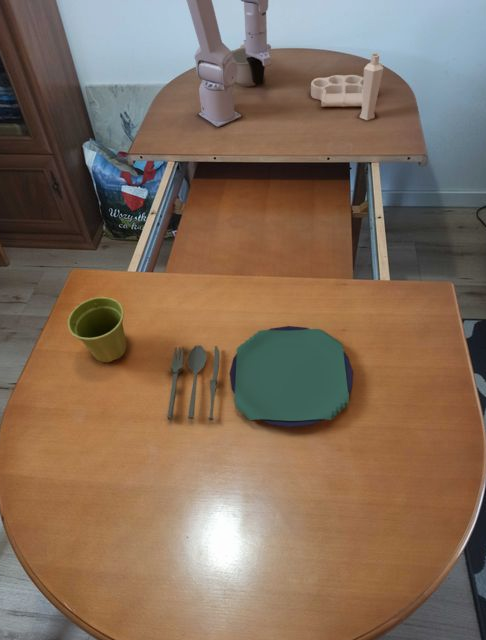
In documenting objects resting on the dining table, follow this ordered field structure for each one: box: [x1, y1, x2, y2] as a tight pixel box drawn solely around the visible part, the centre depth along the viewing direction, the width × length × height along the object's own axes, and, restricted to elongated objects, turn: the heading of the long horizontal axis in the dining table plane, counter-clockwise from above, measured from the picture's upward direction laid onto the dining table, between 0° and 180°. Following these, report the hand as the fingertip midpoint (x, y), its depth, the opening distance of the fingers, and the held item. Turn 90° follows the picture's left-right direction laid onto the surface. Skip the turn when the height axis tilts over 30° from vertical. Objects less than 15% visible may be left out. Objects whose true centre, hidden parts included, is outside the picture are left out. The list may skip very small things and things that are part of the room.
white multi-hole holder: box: [310, 74, 364, 108], centre depth 137 cm, size 3×18×15 cm
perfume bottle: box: [359, 52, 385, 121], centre depth 125 cm, size 5×4×15 cm
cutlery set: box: [166, 325, 354, 429], centre depth 81 cm, size 20×30×2 cm, turn 87°
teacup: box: [231, 44, 267, 88], centre depth 146 cm, size 14×11×8 cm
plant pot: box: [67, 296, 128, 363], centre depth 85 cm, size 9×9×9 cm
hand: (257, 83), depth 143 cm, fingers closed, pressing on teacup
